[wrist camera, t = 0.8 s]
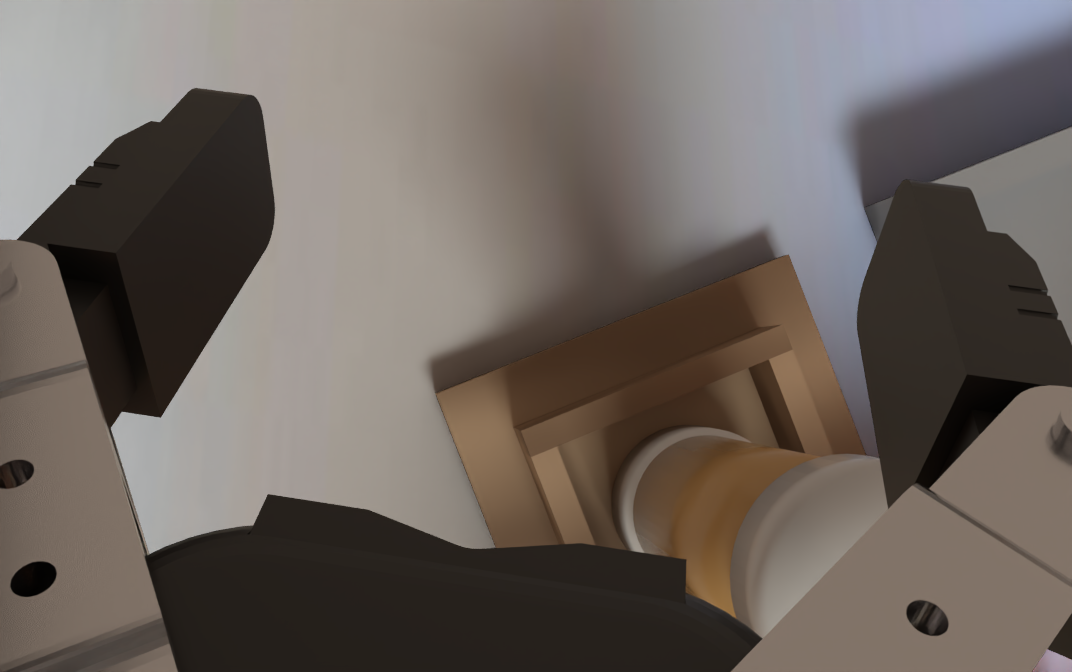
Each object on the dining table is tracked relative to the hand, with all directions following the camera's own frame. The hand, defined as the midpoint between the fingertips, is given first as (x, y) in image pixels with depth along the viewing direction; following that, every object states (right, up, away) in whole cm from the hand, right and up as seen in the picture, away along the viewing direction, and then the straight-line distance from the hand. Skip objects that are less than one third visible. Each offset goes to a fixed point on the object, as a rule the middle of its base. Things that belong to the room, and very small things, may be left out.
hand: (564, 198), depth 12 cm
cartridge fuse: (+4, -7, +18) cm, 20 cm away
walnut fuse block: (+4, -7, +19) cm, 20 cm away
